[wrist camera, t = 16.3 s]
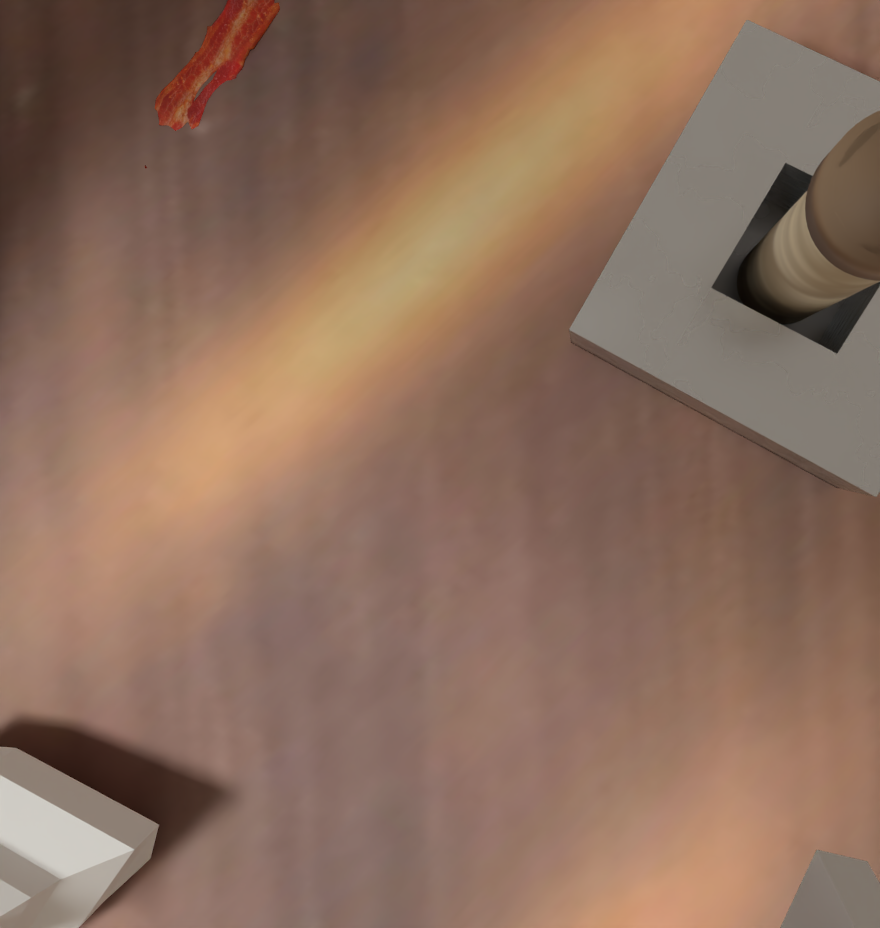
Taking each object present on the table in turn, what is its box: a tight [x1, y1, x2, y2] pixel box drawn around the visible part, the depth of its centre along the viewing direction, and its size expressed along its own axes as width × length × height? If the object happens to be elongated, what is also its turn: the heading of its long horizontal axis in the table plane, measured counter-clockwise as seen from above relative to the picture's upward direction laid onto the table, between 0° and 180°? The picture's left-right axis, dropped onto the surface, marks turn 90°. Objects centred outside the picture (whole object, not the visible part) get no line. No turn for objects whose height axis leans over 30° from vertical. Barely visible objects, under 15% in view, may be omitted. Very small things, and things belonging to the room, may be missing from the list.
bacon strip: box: [145, 0, 280, 168], centre depth 40 cm, size 4×15×1 cm, turn 147°
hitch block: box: [569, 20, 880, 497], centre depth 33 cm, size 14×14×5 cm
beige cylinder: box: [737, 111, 880, 325], centre depth 28 cm, size 5×5×14 cm
